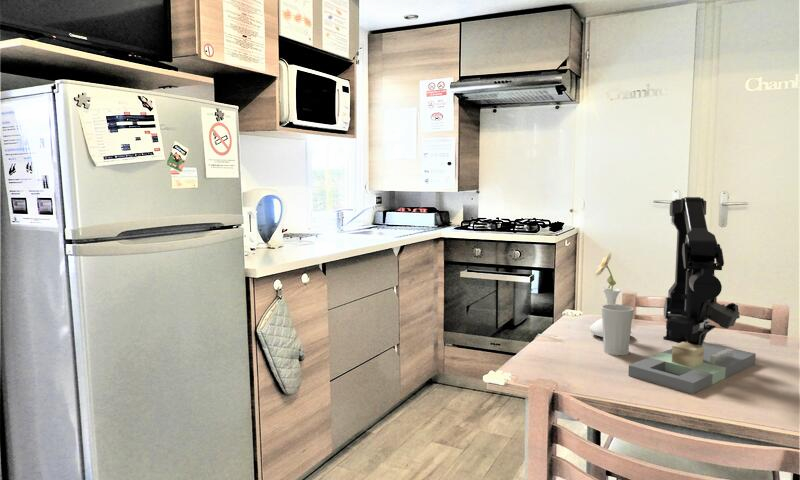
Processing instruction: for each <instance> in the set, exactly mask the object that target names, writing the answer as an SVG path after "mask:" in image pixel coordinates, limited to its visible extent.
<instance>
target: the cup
mask: <svg viewBox="0 0 800 480" xmlns="http://www.w3.org/2000/svg"><path fill="white" fill-rule="evenodd" d="M600 307H601V318H602V324H603V337H602V339H603V341H602V343H603V344H602V345H603V347H602V349H603V353H605V354H607V353H608V354H607V355H610V354H611V355H610V356H618V355H622V356H626V355H629V354H630V353H629V351H630V349H629V348H630V338H631V334H630V332H631V333H632V323H633V316H634V309H635V308H634V307H632V306H630V305H627V304H625V305H624V304H618V303H617V304H616V303H615V304H607V303H606V304H603V305H601V306H600Z"/></svg>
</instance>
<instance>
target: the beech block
mask: <svg viewBox="0 0 800 480" xmlns="http://www.w3.org/2000/svg"><path fill="white" fill-rule="evenodd" d="M672 346H673V348H672V347H671V349H672V362H674V363H678V364H682V365H686V366H690V367H695V366H697V365H700V364H702V363H703V357H704V346H700V345H695V344H691V343H686V342H677V343H676V344H673V345H672Z"/></svg>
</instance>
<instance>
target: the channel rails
mask: <svg viewBox="0 0 800 480" xmlns="http://www.w3.org/2000/svg"><path fill="white" fill-rule="evenodd" d="M686 343H688V342H687V341H686ZM672 348H673V345H672V346H671V349H672ZM729 348H730V347H728V348H727V349H725V350H722V351H720V352H718V353H715V354H713V355H711V356H710V364H713V365H717V364H719V363H721V362H723V361H726V360H728V359H730V358H732V356H733V349H734V348H733V349H729Z"/></svg>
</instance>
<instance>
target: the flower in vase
mask: <svg viewBox="0 0 800 480" xmlns="http://www.w3.org/2000/svg"><path fill="white" fill-rule="evenodd" d="M611 258H612V252H611V251H610V252H606V254H605V256H603V257H602V260H601V263H600V264H598V265H597V267H596V268H597V270H595V272H594V275H595V277H598V276H600V275H601V274H602V273H603V272H604V271H605V269H607V271H608V272H609V276H608V278H607V279H606V282H607V283H608V284H609V285H608V287H604V288H602V291H603V293H604V295H605V298H606V305H607V304H616V302H617V298H618V296H619V293H621V292H622V289H620V288H614V286H616V284H617V282H616V281H615V279H614V278H613V274H612V272H611V270H610V268H609V266H608V264H609V262H610V260H611ZM589 331H590V333H591V334H593V335H595V336H598V337H601V338H603V324H602V317H601V318H600V319H598V320H596V321H595V322H593V324H591V326H590V327H589ZM631 334H632V331H631V332H630V335H631Z"/></svg>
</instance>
